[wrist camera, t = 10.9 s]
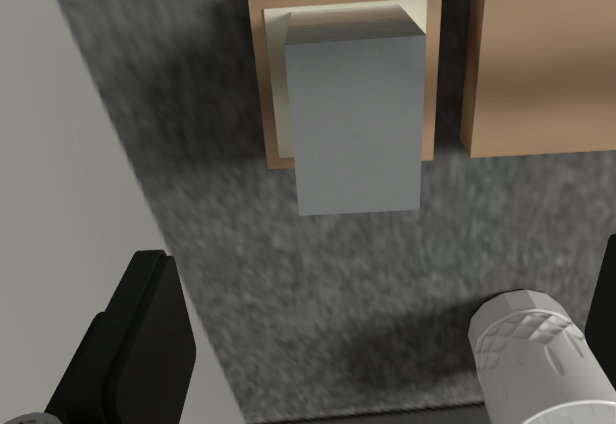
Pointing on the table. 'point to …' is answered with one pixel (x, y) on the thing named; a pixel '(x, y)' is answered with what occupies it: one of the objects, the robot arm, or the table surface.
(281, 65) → the stand
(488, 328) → the white cup
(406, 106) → the block
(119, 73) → the table surface
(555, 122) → the stand
